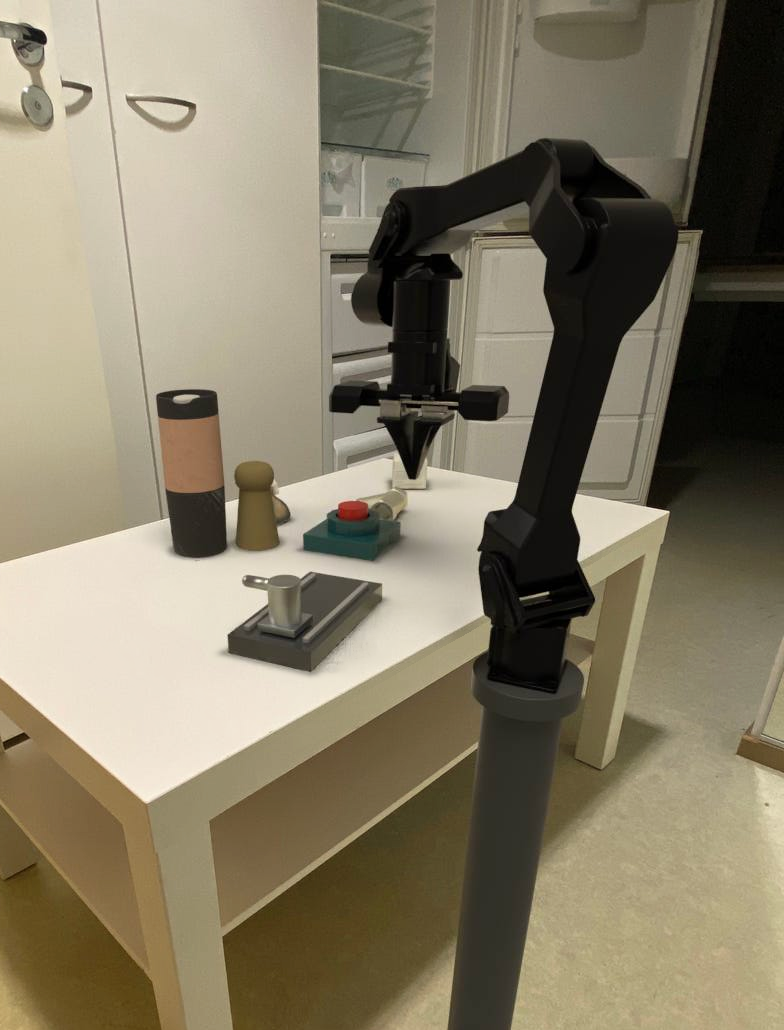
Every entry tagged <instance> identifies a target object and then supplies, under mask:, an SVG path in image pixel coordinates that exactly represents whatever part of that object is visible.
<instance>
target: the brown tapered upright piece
mask: <svg viewBox="0 0 784 1030" xmlns="http://www.w3.org/2000/svg"><path fill="white" fill-rule="evenodd" d="M233 477H234V483H235V482H236V484H237V485H236V484H235V485H236V486H238V487H239V488H238V487H237V488H238V502H237V519H236V530H235V531H236V532H235V546H236V547H237V548H238V549H241V550H245V551H266V550H271V549H273V548H275V547H278V545H280V542H281V541H280V536H279V530H278V525H277V524H276V518H275V512H274V506H273V500H272V495H271V489H270V487H271V485H272V483H273V480H275V471H274V468H273V467H272V465H271V464H269V463H268V462H266V461H261V460H249V461H244V462H241V463H239V464H237V466H236V468H235V470H234V473H233Z"/></svg>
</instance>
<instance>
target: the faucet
mask: <svg viewBox="0 0 784 1030" xmlns="http://www.w3.org/2000/svg"><path fill="white" fill-rule="evenodd" d="M241 583H242V585H243V587H246V588H250V589H255V590H260V591H266V592H267V604H268V609H269V615H268V616H266V617H265V618H264V619H263V620H261V621H260V622H259V623H258V631H263V632H267V633H272V634H277V635H281V636H286V637H291V638H295V637H296V636H297V635H298V634H300V633H301V632H302V631H303V630H304V629H305V628H306V627H307V626H309V625H310V624H311V623H312V622H313V615H311V614H306V613H302V604H301V578H300V577H299V576H296V575H293V574H277V575H273V576H271V577H269V578H268V577H263V576H259V575H258V576H257V575H251V574H245V575H244V576H243V577H242V579H241Z"/></svg>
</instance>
